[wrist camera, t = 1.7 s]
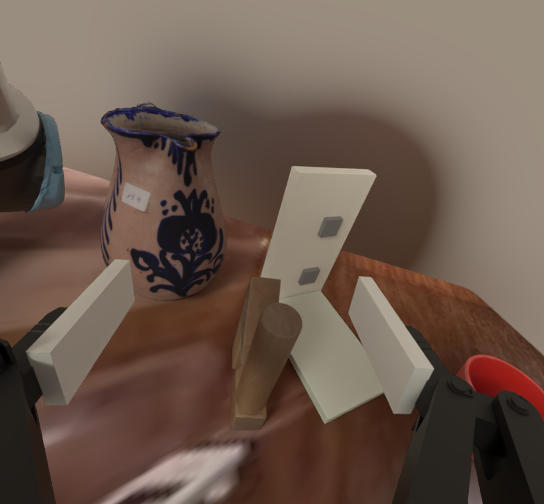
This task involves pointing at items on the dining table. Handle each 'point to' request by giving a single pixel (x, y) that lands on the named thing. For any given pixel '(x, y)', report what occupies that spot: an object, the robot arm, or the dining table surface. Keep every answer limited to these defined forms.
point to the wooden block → (260, 351)
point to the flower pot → (500, 379)
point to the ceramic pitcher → (163, 202)
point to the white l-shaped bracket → (321, 284)
